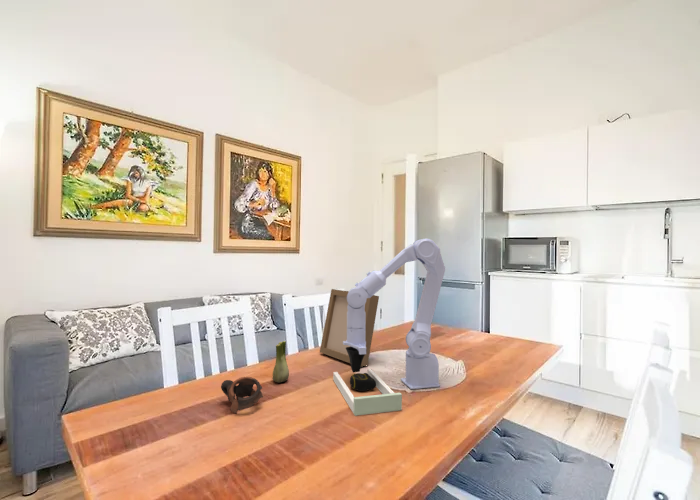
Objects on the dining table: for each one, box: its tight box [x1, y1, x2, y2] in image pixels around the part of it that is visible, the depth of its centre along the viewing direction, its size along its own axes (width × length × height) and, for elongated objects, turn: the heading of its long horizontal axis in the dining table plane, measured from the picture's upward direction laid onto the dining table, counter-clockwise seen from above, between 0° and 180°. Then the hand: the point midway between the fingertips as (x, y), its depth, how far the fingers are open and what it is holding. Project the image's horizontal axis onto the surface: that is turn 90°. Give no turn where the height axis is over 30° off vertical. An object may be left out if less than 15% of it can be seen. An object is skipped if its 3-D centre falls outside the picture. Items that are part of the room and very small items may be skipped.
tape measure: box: [349, 372, 377, 392], centre depth 104 cm, size 7×7×4 cm
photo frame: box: [319, 288, 380, 367], centre depth 133 cm, size 15×22×25 cm
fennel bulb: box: [271, 340, 290, 384], centre depth 109 cm, size 6×5×12 cm
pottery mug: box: [220, 376, 264, 414], centre depth 91 cm, size 12×10×8 cm
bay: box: [332, 368, 403, 417], centre depth 100 cm, size 12×24×4 cm, turn 15°
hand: (355, 371), depth 108 cm, fingers closed
